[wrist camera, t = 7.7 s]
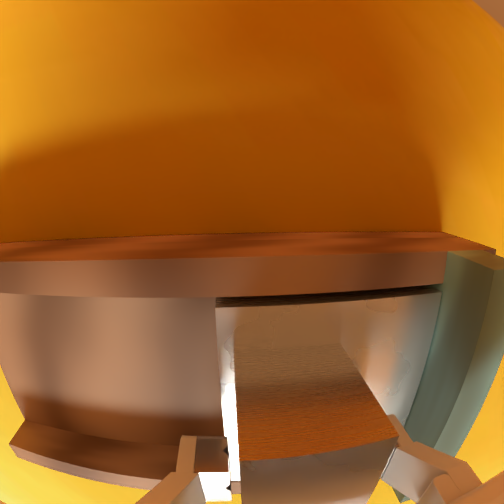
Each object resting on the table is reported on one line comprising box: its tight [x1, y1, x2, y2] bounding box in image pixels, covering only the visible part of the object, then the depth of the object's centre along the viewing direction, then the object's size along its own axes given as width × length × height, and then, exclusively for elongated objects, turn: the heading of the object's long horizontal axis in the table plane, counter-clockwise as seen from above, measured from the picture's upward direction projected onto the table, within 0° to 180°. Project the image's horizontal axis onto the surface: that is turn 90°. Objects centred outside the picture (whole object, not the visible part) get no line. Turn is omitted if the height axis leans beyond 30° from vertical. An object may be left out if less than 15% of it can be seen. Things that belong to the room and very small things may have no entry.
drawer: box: [0, 232, 504, 503], centre depth 11 cm, size 24×12×6 cm, turn 90°
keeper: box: [215, 285, 442, 504], centre depth 9 cm, size 8×9×7 cm
